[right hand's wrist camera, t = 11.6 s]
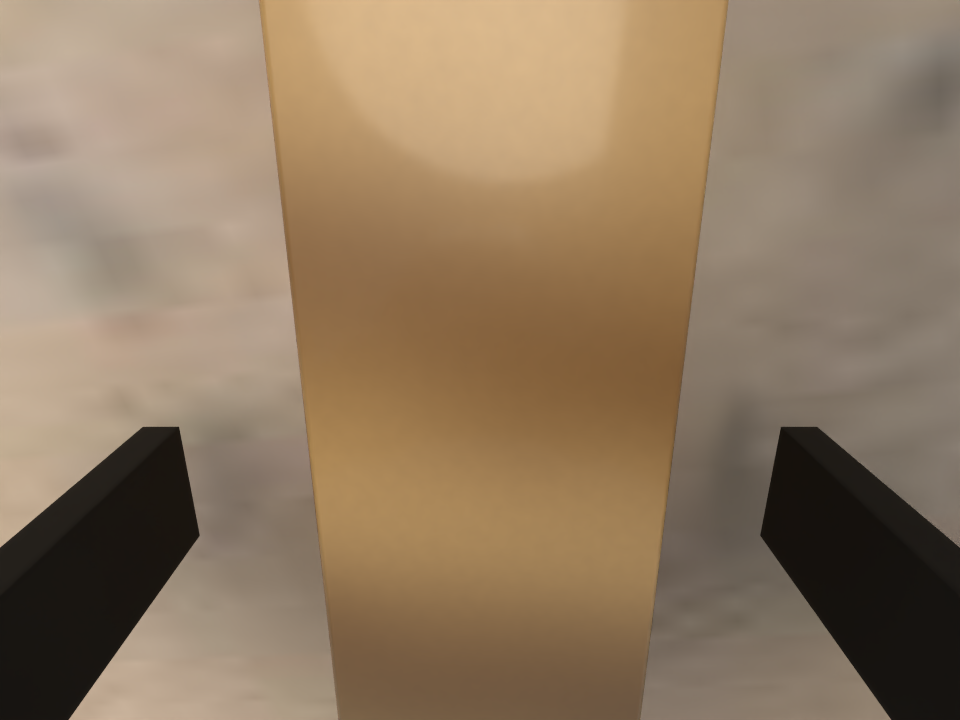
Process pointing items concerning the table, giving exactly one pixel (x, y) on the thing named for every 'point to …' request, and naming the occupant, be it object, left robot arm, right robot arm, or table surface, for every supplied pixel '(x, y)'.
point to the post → (491, 333)
